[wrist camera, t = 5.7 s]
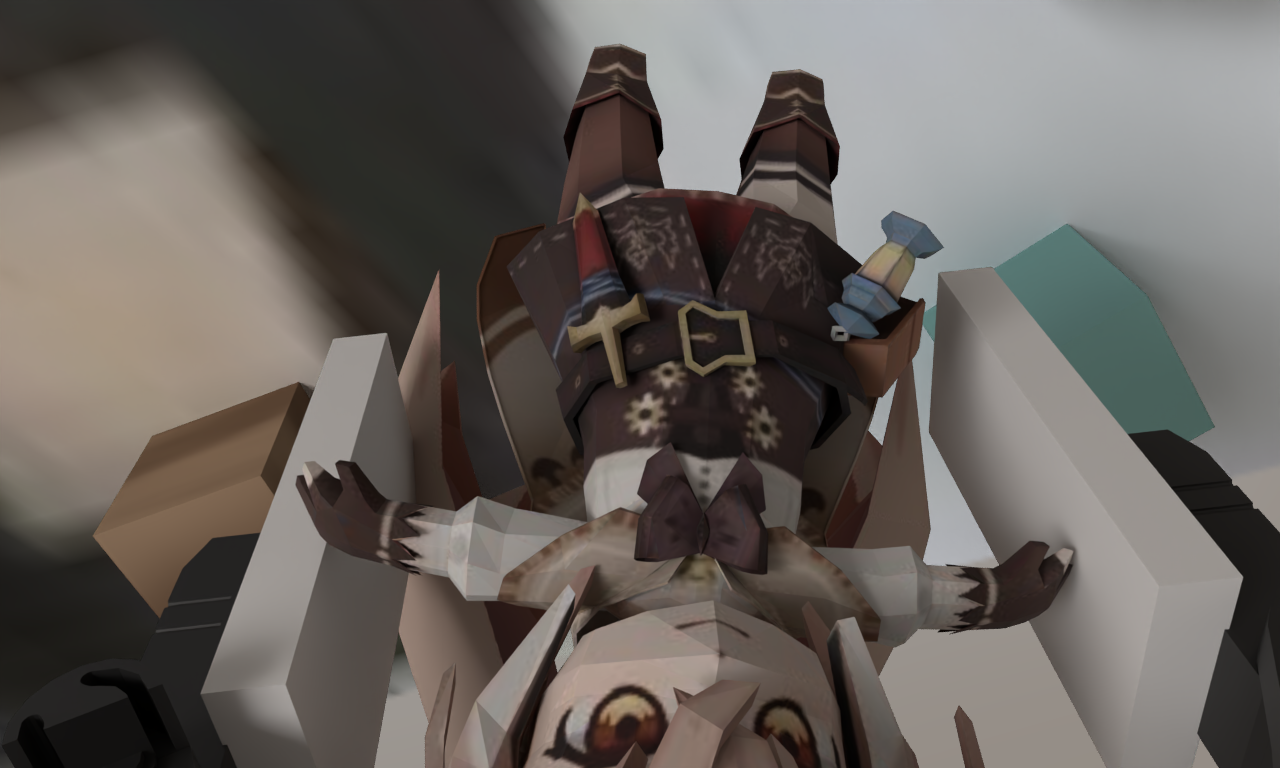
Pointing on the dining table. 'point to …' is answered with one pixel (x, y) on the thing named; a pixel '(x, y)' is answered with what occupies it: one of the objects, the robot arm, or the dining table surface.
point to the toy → (677, 472)
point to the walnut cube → (200, 489)
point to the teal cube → (1104, 333)
